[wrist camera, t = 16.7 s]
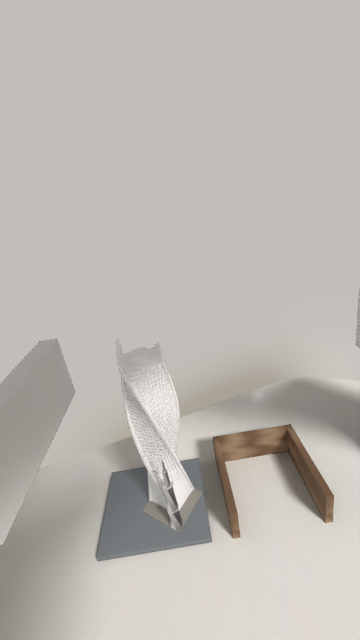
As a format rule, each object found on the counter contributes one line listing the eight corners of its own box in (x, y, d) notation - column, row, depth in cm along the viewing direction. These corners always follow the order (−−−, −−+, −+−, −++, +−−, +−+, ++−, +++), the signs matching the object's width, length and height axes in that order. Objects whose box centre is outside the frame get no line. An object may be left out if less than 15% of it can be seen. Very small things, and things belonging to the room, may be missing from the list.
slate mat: (199, 461, 54) (198, 458, 54) (211, 542, 41) (211, 538, 41) (113, 475, 54) (112, 472, 54) (97, 561, 41) (96, 557, 41)
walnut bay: (290, 445, 54) (290, 424, 52) (332, 521, 41) (333, 495, 39) (215, 458, 54) (212, 437, 52) (233, 538, 41) (229, 513, 39)
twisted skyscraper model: (135, 508, 47) (89, 352, 37) (165, 469, 53) (132, 326, 43) (179, 534, 42) (139, 363, 32) (206, 488, 48) (180, 332, 38)
